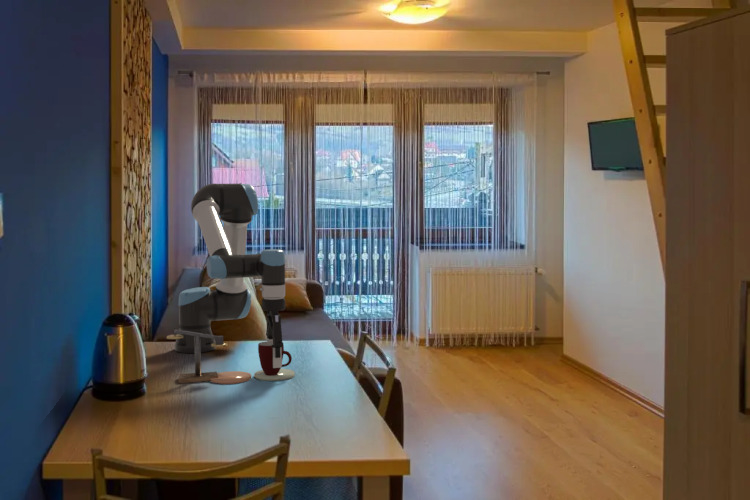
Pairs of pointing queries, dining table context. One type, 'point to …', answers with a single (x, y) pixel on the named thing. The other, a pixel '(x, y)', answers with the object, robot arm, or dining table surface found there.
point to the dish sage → (282, 375)
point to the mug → (270, 358)
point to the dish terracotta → (231, 377)
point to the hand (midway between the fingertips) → (274, 363)
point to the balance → (198, 356)
